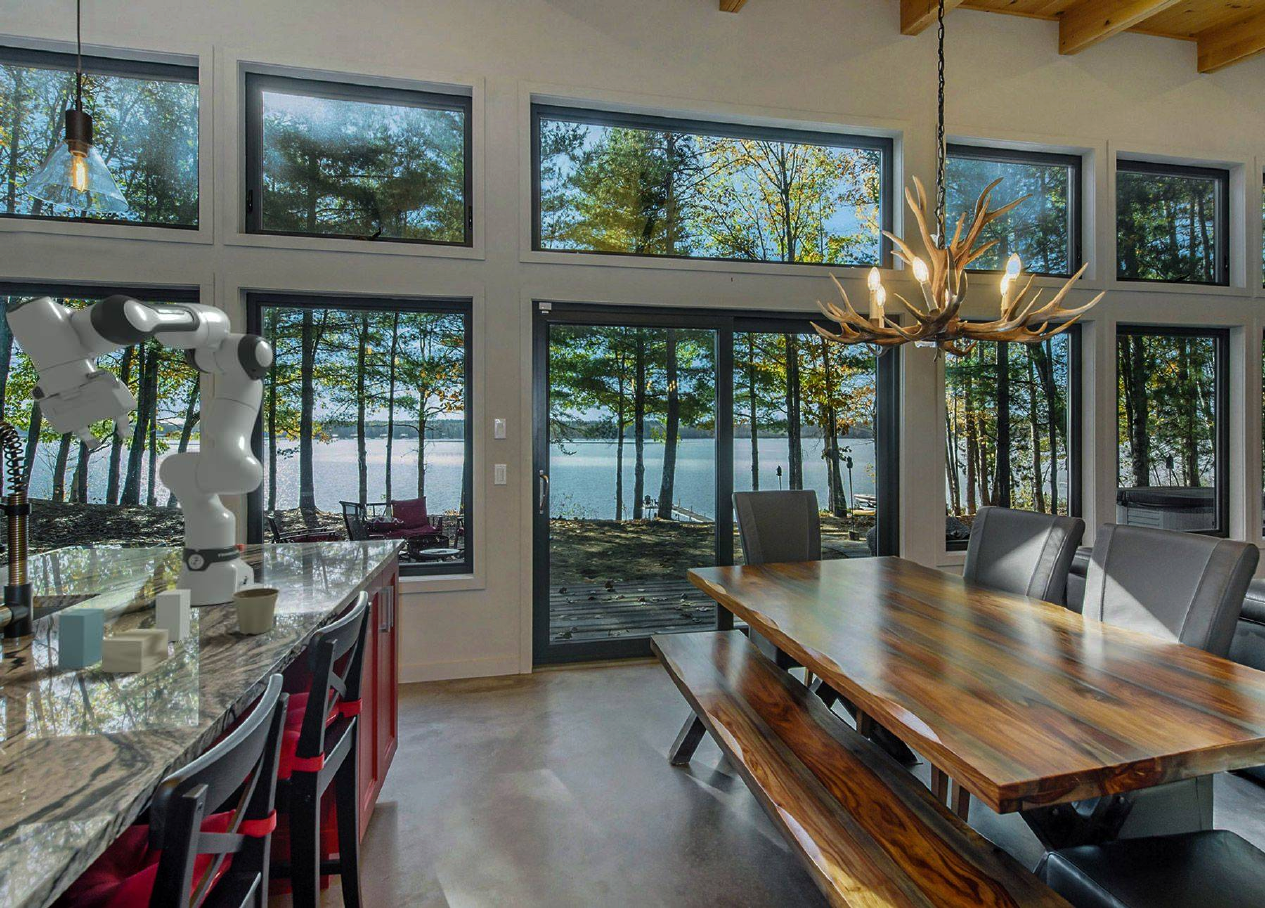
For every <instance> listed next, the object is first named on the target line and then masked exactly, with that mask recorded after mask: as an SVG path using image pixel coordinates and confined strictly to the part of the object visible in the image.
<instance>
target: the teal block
mask: <svg viewBox="0 0 1265 908" xmlns="http://www.w3.org/2000/svg"><path fill="white" fill-rule="evenodd" d="M104 612H105V609H104V608H76V609H73V610H71V611H66V612H64V613H61V614H59V615H58V641H57V644H58V649H57V650H58V651H57V654H58V656H57V658H58V659H57V669H58V670H85V669H86V668H85V667H88V666H89V665H92V664H94V663H97V662H99V661H101V660H102V640H104V619H105V615H104V614H105V613H104ZM101 662H102V661H101ZM99 663H100V662H99ZM97 664H98V663H97ZM94 665H95V664H94ZM92 666H93V665H92ZM84 668H85V669H84ZM88 668H89V667H88Z"/></svg>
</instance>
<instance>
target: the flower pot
mask: <svg viewBox="0 0 1265 908" xmlns="http://www.w3.org/2000/svg"><path fill="white" fill-rule="evenodd" d="M279 594H281V590H280V589H277V588H273V587H263V588H255V589H247V590H242V591H238V592H235V593H233V594H232V595H231V597H232V598H233V600H234V601H233V604H234V605H235V610H236V611H235V612H236V618H237V625H238V633H240V634H242V635H248V634H250V635H251V634H252V635H259V634H263V633H268V631H270V630H271V629H272V627H273V620H274V616H275V608H276V602H277V600H278V596H279Z"/></svg>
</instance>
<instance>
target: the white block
mask: <svg viewBox="0 0 1265 908" xmlns="http://www.w3.org/2000/svg"><path fill="white" fill-rule="evenodd" d="M190 622H191V605H190V589H182V590H177V589H166V590H164V591H161V592H159V593H157V594H155V625H154V626H155V628H154V629H169V632H168V641H175V642H181V641H182V640H184V639H185V638H187V637H189V636H190V635H189V634H191V631H190V630H191V629H190V628H191V627H190V626H191V623H190ZM184 637H185V638H184ZM183 638H184V639H183ZM181 639H182V640H181ZM180 640H181V641H180Z"/></svg>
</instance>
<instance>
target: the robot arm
mask: <svg viewBox="0 0 1265 908" xmlns="http://www.w3.org/2000/svg"><path fill="white" fill-rule="evenodd" d="M5 317H6V321H7V323H8V326H9V329H10V331H11V333H12V335H13V337H14V338H15V340H16V342H17V344H18V345H19V347H20V348H21V350H22V351H23V353H24V354H25V355H26V356H28V358H30V360H31V361H32V363H33V366H34V370H35V372H36V374H37V376H38V377H39V379H38V380H37V382H36V384H35V385H34V386H33V387H32V389H31V390H30V392H29V395H30V397H31V398H32V400H33V401H34V402H39V409H40V411H41V413H42V415H43V416H44V417H45V419H46V421H47V422H48V424H49V425H50V426H51V428H52V429H53V430H54V431H55V432H57V433H58V434H60V435H63V434H64V435H65V434H67V433H70V432H73V434H74V436H75V437H76V438H78V439H80V440H81V441H83V442H84V443H85V445H86V446H87V448H88V449H89V450H93V449H96V448H98V447H101V446H103V445H102V441H100V439H99V437H95V436H93V435H92V434H91V433H90V427H88V426H91V425H93V424H97V423H99V422H103V421H105V420H108V419H111V420H112V421H113V423H116V426H117V430H116V431H115V433H116V434H117V435H118V437H119V439H121V440H123V439H126V438H130V437H132V436H133V435H134V432H133V430H132V429H131V428H130V417H129V416H128V412H131V411H134V410H137V409H138V401H137V399H136V398H135V397H134V395H133V394H132V392H131V391H130V390H129V388H128V386H127V385H126V384H125V383H124V382H123V381H122V380H121V379H120V378H119V377H118V376H117V375H116V373H115V372H114V371H111V370H109V369H106V368H100V369H99V368H98V366H97V365H96V363H95V361H94V359H96V358H100V357H103V356H106V355H109V354H110V353H114V352H116V351H120V350H122V349H125V348H127V347H130V346H134V345H138V344H142V343H144V342H146V341H149V340H150V339H151V338H153V337H154V338H155V339H156V341H158V342H159V343H160V344H161V345H163V346H164V347H165V348H168V349H172V350H173V349H174V350H175V349H176V350H183V356H184V359H185V361H186V363H187V365H189V367H190V368H191V369H192V370H194V371H196V372H199V373H203V374H218V375H220V384H219V386H218V388H217V390H216V392H215V394H214V396H213V398H212V402H211V404H210V406H209V409H208V412H207V414H206V417H205V420H204V423H203V429H204V431H205V433H206V435H207V436H208V437H210V439H212V440H213V441H214V444H213V450H212V451H211V452H209V451H207V452H206V451H185V452H179V453H175V454H174V453H173V454H171V455H168V456H166V457H165V458H164V459H163V460H162V462H161V464H160V466H159V471H158V477H159V479H160V482H161V484H162V485H163V486H164V487H165V488H166V489H168V490H169V491H170V492H171V493H172V494H173V495H174V497H175V498H176V500H177V502H178V503H179V505H180V508H181V511H182V515H183V518H184V546H183V548H182V553H181V555H182V561H183V562H184V563H183V564H182V565H181V566H180V567H179V569H178V576H177V582H176V590H182V589H190V606H207V605H208V606H209V605H217V604H218V605H219V604H223V603H224V604H225V603H230V602H234V600H233V598H232V597H231V595H232V594H233V593H235V592H238V591H242V590H247V589H255V588H264V584H263V583H259V582H255V579H254V578H255V577H254V576H255V574H254V568H252V566H250V565H248V563H246V562H245V561H244V560H242V559H241V558H240V552H244V550H245V543H236V526H237V525H236V524H237V523H236V522H237V520H236V515H235V514H234V513H233V512H232V511H231V510H229V509H228V508H227V507H225V506H224V505H223V502H221V499H220V496H219V495H232V496H233V495H241V494H247V493H252V492H254V491H256V490H257V489H258V488H259V486H260V484H261V483H262V481H263V477H264V469H263V466H262V464H261V462H260V461H259V459H257V458H256V457H255V455H254V454H253V450H252V447H251V446H252V445H251V439H252V433H253V430H254V426H255V424H256V421H257V417H258V414H259V412H260V408H261V407H260V406H261V403H262V399H263V398H262V397H263V390H264V389H263V388H264V385H263V382H262V380H261V379H263V378H264V377H265V376H266V375H267V372H268V371H270V369H271V367H272V365H273V361H274V357H275V356H274V350H273V346H272V345H271V343H270V341H269V340H268V339H267V338H265V337H263V336H261V335H257V334H253V333H249V334H245V333H237V332H231V321H230V319H229V316H228V315H227V314H226V313H225V312H224V311H223V310H221V309H220V308H218V307H216V306H212V305H206V304H202V303H201V304H200V303H190V302H187V303H172V304H169V303H167V304H166V303H150V302H145V301H143V300H139V299H137V298H133V297H130V296H129V295H123V294H113V295H110V296H108V297H106V298H104V299H102V300H100V301H98V302H96V303H93V304H91V305H88V306H86V307H83V308H81V309H79V308H74V307H68V306H65V305H62V304H60V303H58V302H56V301H55V300H54V299H52V298H51V297H50V296H48V295H47V296H45V295H43V296H37V297H34V298H30V299H28V300H26V301H23V302H20V303H17V304H15V305H12V306H10V307H9V308H8V309H7V310H6V312H5Z"/></svg>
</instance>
